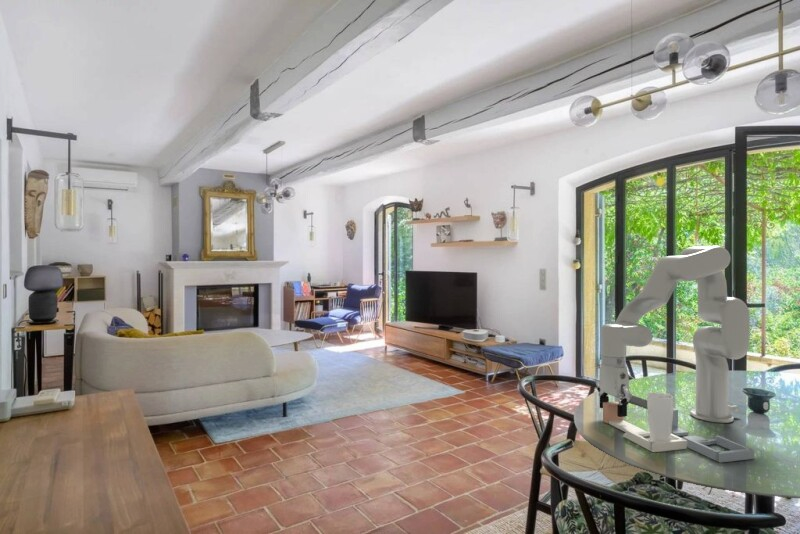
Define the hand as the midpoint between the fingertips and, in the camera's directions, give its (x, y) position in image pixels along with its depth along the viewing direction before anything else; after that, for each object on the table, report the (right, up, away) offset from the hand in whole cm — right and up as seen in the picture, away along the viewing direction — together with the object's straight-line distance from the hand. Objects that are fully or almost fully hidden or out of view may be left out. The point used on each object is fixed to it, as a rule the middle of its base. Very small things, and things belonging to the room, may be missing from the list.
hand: (612, 411), depth 161 cm
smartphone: (+21, -4, +22) cm, 31 cm away
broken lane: (+17, -4, -18) cm, 25 cm away
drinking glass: (+5, -4, -21) cm, 21 cm away
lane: (+3, -3, -12) cm, 12 cm away
